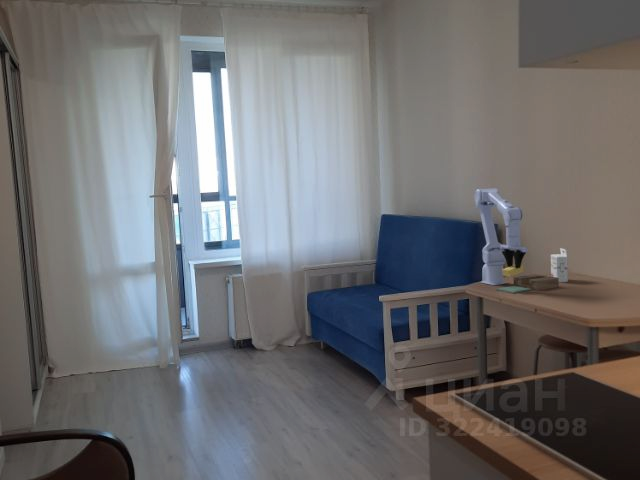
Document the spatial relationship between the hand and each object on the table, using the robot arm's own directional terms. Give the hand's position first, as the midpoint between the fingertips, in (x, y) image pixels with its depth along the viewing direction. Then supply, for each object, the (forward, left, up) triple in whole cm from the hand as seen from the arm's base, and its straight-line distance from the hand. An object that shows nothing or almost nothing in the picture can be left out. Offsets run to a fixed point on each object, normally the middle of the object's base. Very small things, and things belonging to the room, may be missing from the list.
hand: (513, 267), depth 267 cm
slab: (0, 0, -3) cm, 3 cm away
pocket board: (0, +13, -10) cm, 16 cm away
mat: (0, 0, -10) cm, 10 cm away
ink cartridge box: (-3, +30, -10) cm, 31 cm away
